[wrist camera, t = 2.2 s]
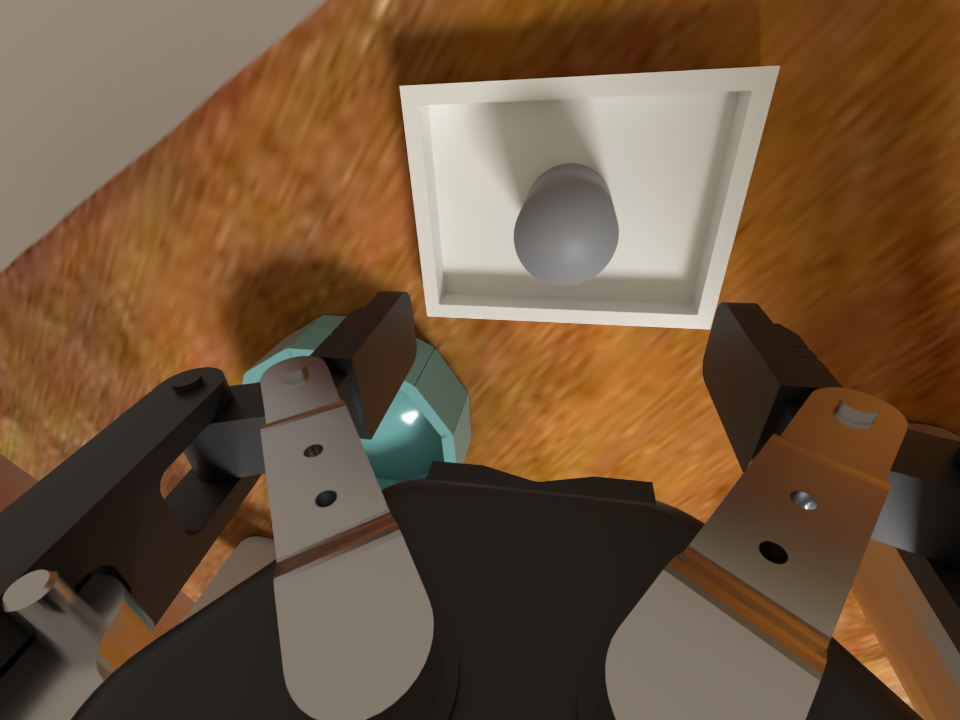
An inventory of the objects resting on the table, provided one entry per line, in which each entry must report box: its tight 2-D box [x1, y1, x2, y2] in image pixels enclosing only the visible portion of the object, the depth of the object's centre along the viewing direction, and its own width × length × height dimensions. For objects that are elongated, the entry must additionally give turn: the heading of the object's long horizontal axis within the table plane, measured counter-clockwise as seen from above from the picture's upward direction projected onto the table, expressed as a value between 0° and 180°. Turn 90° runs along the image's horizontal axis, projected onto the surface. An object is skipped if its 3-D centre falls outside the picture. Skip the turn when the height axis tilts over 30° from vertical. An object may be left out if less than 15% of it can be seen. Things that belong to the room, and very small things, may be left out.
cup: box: [182, 536, 276, 622], centre depth 45 cm, size 7×10×9 cm
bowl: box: [242, 315, 471, 490], centre depth 32 cm, size 16×16×4 cm
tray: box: [399, 66, 780, 329], centre depth 22 cm, size 16×12×2 cm
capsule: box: [514, 163, 619, 286], centre depth 21 cm, size 4×4×5 cm
